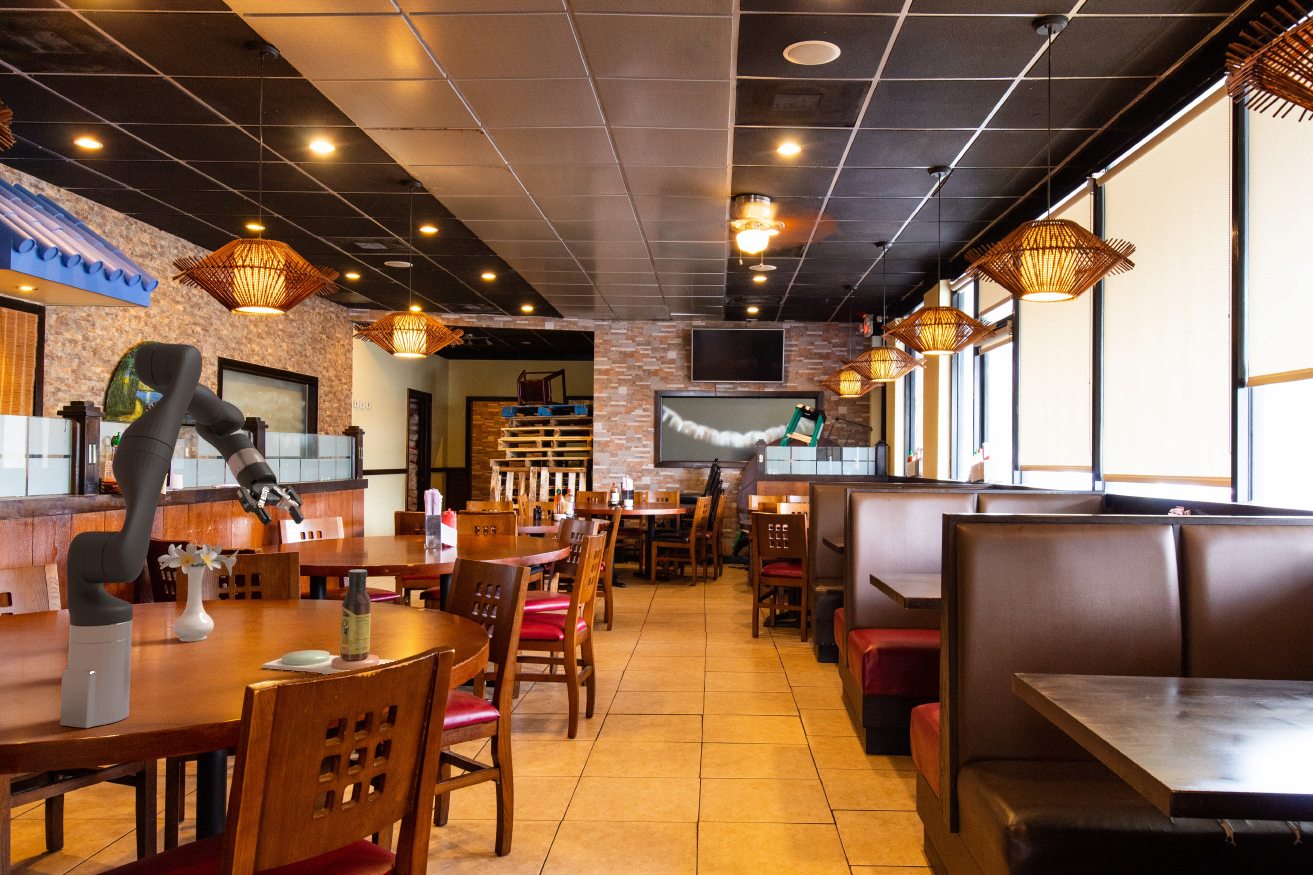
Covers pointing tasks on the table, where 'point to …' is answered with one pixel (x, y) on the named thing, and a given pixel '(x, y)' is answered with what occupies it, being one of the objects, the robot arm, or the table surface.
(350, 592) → the sauce bottle
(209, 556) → the flower vase
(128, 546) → the robot arm
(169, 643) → the table surface
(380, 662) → the tray
